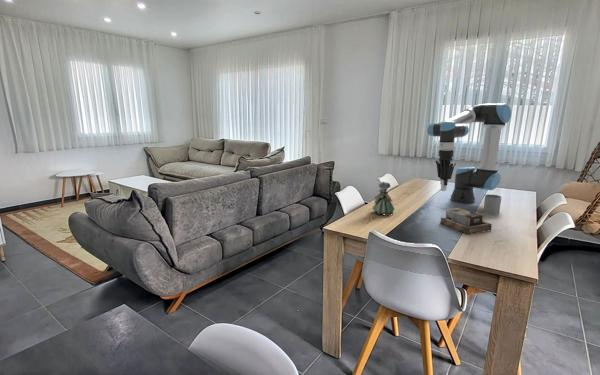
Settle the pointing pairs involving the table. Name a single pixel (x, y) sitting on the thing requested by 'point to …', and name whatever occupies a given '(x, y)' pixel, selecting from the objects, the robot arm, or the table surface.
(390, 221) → the table surface
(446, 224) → the cradle
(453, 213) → the coffee box
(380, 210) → the figurine
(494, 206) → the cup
